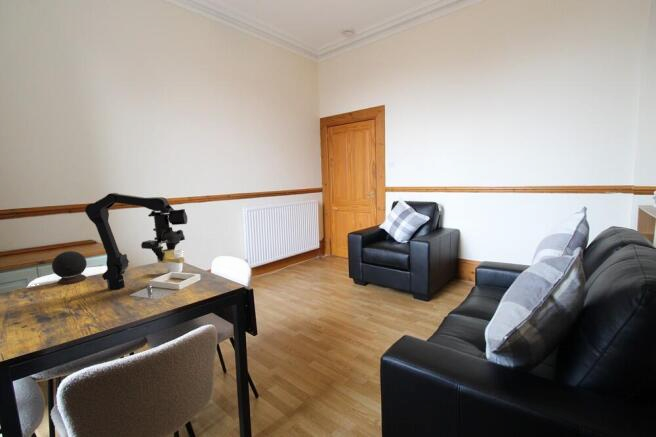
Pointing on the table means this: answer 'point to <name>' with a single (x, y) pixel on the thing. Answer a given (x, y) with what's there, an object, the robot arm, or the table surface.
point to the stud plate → (152, 293)
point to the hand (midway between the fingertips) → (166, 259)
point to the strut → (170, 257)
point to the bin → (171, 285)
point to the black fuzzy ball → (69, 267)
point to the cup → (175, 266)
